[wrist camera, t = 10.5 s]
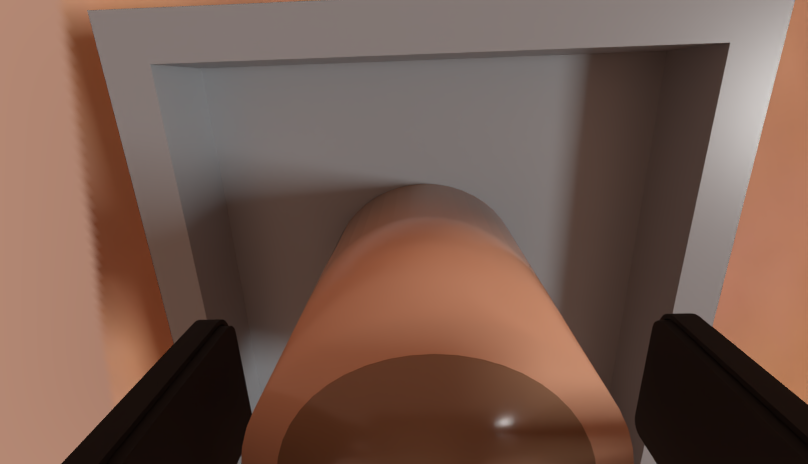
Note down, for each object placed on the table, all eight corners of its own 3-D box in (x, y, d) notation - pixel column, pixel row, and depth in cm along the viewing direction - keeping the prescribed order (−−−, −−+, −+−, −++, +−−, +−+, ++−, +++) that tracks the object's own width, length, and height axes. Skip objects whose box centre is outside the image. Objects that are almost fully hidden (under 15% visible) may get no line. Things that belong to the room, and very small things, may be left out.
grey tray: (696, 8, 12) (799, -21, 9) (619, 428, 18) (666, 507, 14) (171, 29, 13) (87, 10, 10) (251, 428, 18) (215, 505, 15)
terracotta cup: (524, 181, 13) (671, 317, 6) (512, 350, 15) (605, 613, 8) (325, 186, 13) (205, 321, 6) (341, 351, 16) (269, 607, 8)
